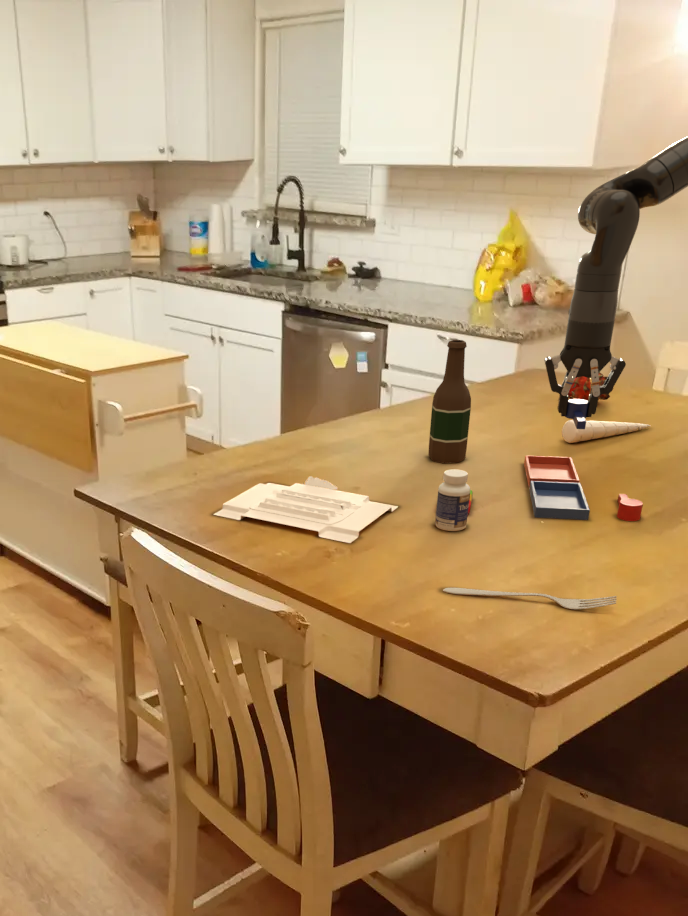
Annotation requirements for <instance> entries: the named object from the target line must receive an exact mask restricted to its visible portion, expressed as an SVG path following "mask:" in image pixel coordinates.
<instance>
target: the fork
mask: <svg viewBox="0 0 688 916" xmlns="http://www.w3.org/2000/svg"><path fill="white" fill-rule="evenodd" d="M442 591H443V593H447V594H451V595H467V596H468V595H469V596H486V597H487V596H489V597H541V598H547V599H549V600H552V601H553V602H555V603H556V604H558V606H561V607H563V608H565V609H568V610H586V609H587V610H588V609H595V608H600V607H601V608H602V607H607V606H612V605H617V597H618V596H617V595H613V596H606V597H595V598H585V599H584V598H560V597H556V596H553V595H550V594H546V593H538V592H537V593H536V592H512V591H498V590H488V589H487V590H485V589H474V588H465V587H445V588H443V589H442Z"/></svg>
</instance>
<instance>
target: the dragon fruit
mask: <svg viewBox="0 0 688 916" xmlns="http://www.w3.org/2000/svg"><path fill="white" fill-rule="evenodd" d="M607 377H608V376H604V374H603V373H602V372H601V371H600V372H599V386H602V385H603V384H604V383H605V381H606V379H607ZM614 388H615V387H613V389H612V390H611V392H612V391H613V390H614ZM589 394H591V384H590V378H587V377H584V376H582V377H576V378H575V380H574V382H573V384H572V386H571V388H570V390H569V393H568V396H569V399H584V400H588V398H589ZM610 398H611V395H610V393H609V394H606V393H605V394H602V395H600V396H599V398H598V401H600V400H601V401H607V400H608V399H610ZM569 399H568V400H569Z"/></svg>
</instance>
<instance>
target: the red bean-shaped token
mask: <svg viewBox="0 0 688 916" xmlns="http://www.w3.org/2000/svg"><path fill="white" fill-rule="evenodd" d="M617 503H618V509H617V514H616V517H617V518H618V519H619V520H622V521H627V522H636V521H639V520H640V519H641V515H642V510H643V507H644V502H643V501H642V500H639V499H635V498H629V496H628V494H627V493H618V496H617Z"/></svg>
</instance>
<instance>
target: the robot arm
mask: <svg viewBox="0 0 688 916" xmlns="http://www.w3.org/2000/svg"><path fill="white" fill-rule="evenodd" d="M686 188H688V136H686V137H684V138H682V139H680V140H678V141H676V142H674V143H672V144H671V145H669V146H668V147H666V148H665V149H664V150H662V151H660V152H658V153H657V154H656V155H654V156H653V157H651V158H650V159H648V160H647V161H644V162H643V164H642V165H640V166H638V167H636V168H634V169H631V170H630V171H627V172H625V173H623V174H621V175H619V176H617V177H615V178H612V179H610V180H608V181H606V182H604V183H602V184H601V185H599V186H598V187H596V188H595V189H593V190H592V191H590V192H589V193H588V194H587V195H586V196H585V197H584V199H583V200H582V201H581V203H580V205H579V208H578V211H577V220H578V224H579V225H580V227H581V229H582V230H583V231H585V232H587V233H589V234H592V235H595V236H594V240H593V242H592V245H591V249H590V251H587V252H585V253H583V254H582V255H581V256H580V258H579V261H578V264H577V269H576V276H575V282H574V283H575V284H574V290H573V293H572V297H571V301H570V306H569V309H568V319H567V326H566V333H565V338H564V345H563V348H562V350H561V351H560V352H559V354H557V355H554V356H546V357H545V358H544V359H543V360H544V365H545V370H546V375H547V379H548V383H549V388H550V390H551V392H553V393H556V394H558V395H559V397H558V402H557V411H558V413H559V414H560V416H561V417H565V416H566V411H567V405H568V400H569V396H568V393H569V390H570V388H571V386H572V384H573V382H574V380H575V378H576V377H582V376H584V377H587V378H590V384H591V394H589V398H588V401H589V407H588V413H587V418H592V416H593V415H595V414H596V413H597V408H598V404H599V400H598V398H599V396H600V395H602V394H605V393H606V394H609V395H610V393H612V391H613V390H614V389H613V388H615V385H616V384H617V382H618V380H619V378H620V376H621V375H622V373H623V371H624V369H625V368H626V365H627V364H626V361H625V360H624V358H621V357H620V358H619V357H615V356H613V354H612V352H611V346H612V345H611V344H612V338H613V332H614V327H615V322H616V321H615V320H616V317H617V316H616V315H617V309H618V301H619V300H618V299H619V290H620V289H619V287H620V282H621V276H622V271H623V264H624V262H625V260H626V256H627V255H628V253H629V250H630V248H631V245H632V243H633V240H634V237H635V235H636V232H637V230H638V226H639V223H640V217H641V209H644V208H650V207H655V206H658V205H661V204H662V203H664V202H666V201H667V200H670V199H671V198H672V197H674V196H675V195H678V194H679V193H680V192H682V191H683V190H685V189H686ZM560 362H561V363H562V365H563V366H564V368H565V370H566V371H565V372H566V373H565V374H564V377H563V381H562V383H561V384H559V383H558V380H557V379H558V378H557V375H556V371H555V370H557V369H558V367H559V364H560ZM609 363H610V365H609V369H610V372H609V374H608V376H606V377H607V379H606V381H605V383H604V384H603V385H602V386H599V372H600V373H601V371H603V369H604V368H605V367H606V366H607V365H608V364H609ZM612 389H613V390H612ZM611 390H612V391H611Z"/></svg>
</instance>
